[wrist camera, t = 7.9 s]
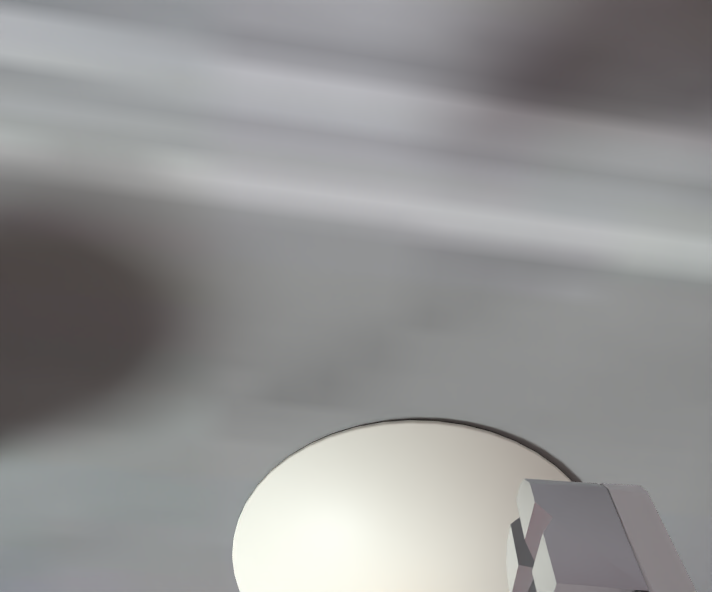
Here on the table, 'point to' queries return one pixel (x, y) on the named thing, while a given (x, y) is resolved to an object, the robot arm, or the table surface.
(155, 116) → the table surface
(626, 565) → the robot arm
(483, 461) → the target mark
